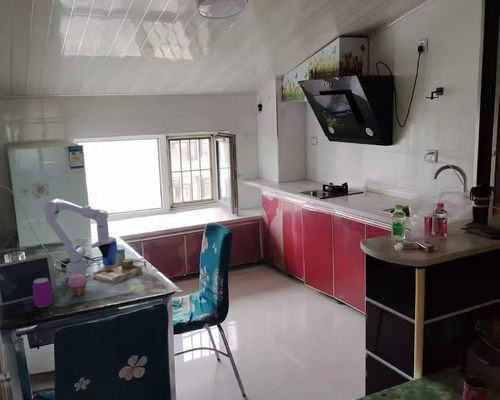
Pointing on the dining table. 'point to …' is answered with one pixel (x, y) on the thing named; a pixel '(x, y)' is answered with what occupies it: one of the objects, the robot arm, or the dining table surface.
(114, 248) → the beer can
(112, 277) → the divided beige tray
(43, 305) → the beverage can
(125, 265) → the walnut block
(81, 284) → the cupcake
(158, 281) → the dining table surface
